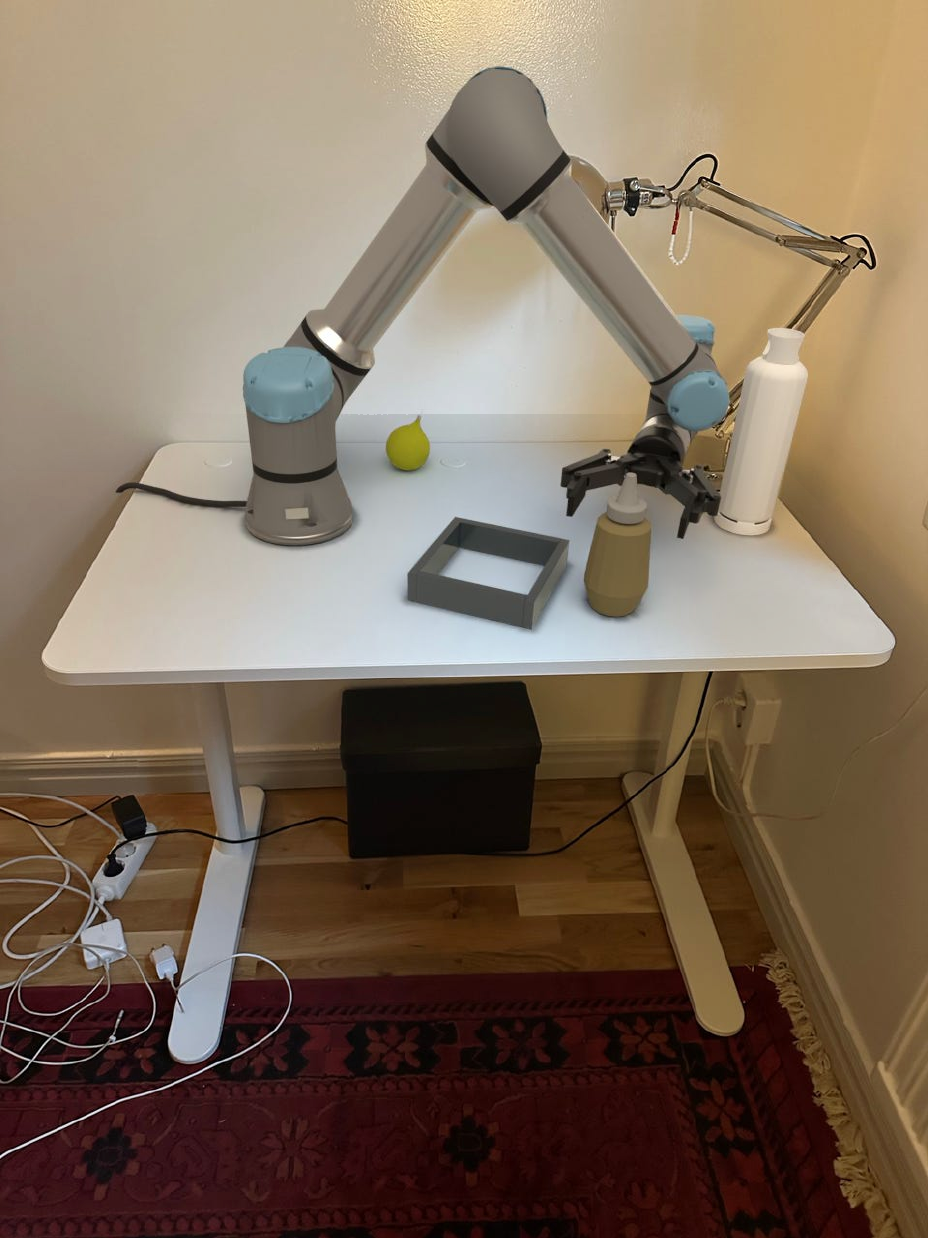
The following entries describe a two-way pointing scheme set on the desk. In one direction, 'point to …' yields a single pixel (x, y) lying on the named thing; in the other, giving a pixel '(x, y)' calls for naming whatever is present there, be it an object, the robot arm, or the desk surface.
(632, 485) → the squeeze bottle
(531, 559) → the grey open square frame
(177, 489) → the desk surface
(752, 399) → the bottle
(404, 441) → the yellow teardrop-shaped fruit
